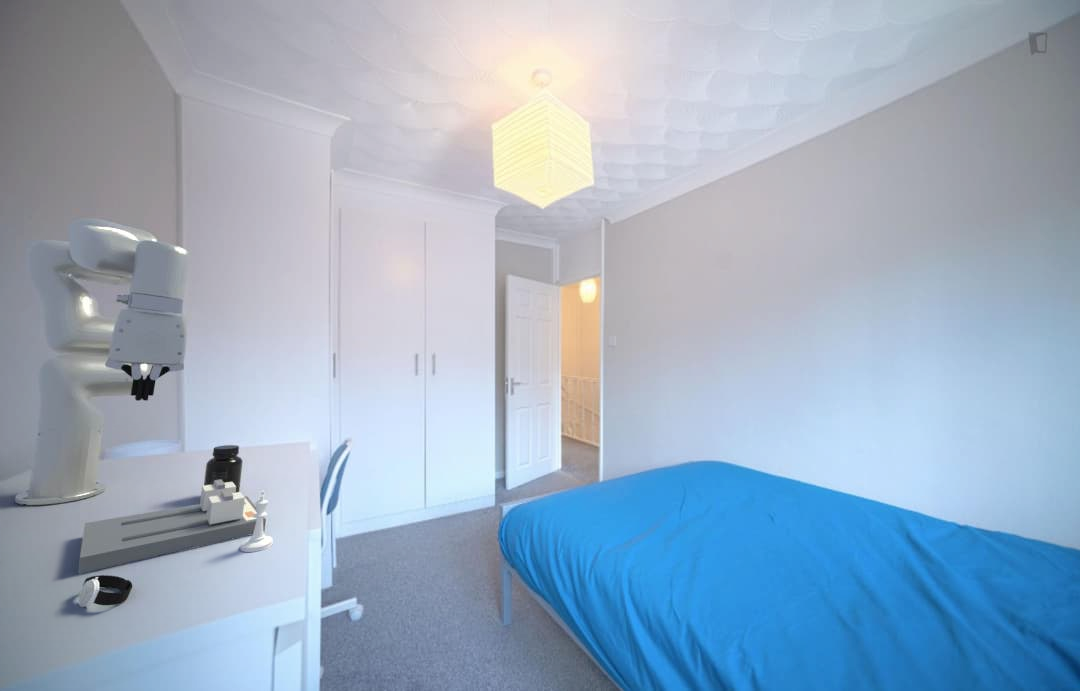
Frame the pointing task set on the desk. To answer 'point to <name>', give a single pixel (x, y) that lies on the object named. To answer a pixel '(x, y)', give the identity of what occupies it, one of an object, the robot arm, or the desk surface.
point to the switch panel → (156, 535)
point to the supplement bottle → (224, 466)
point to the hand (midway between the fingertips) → (141, 399)
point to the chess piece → (258, 530)
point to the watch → (95, 595)
